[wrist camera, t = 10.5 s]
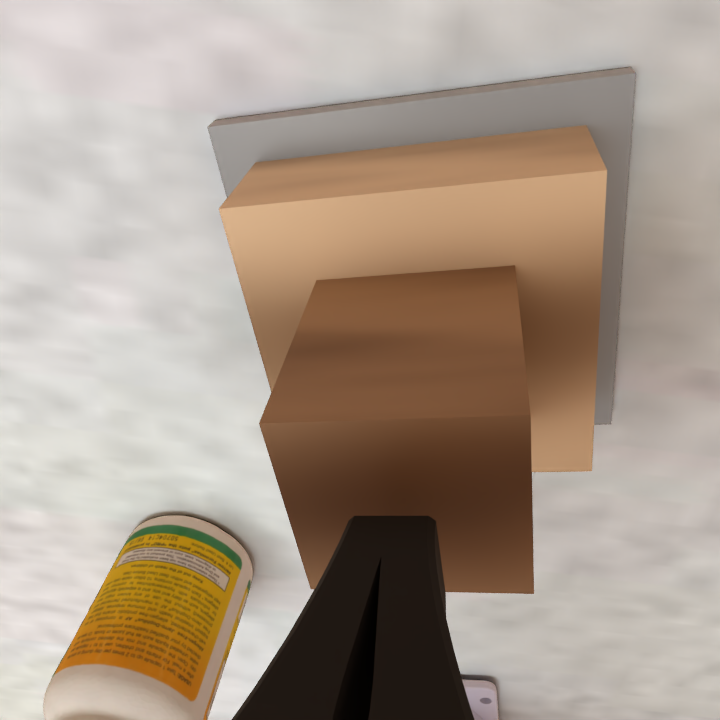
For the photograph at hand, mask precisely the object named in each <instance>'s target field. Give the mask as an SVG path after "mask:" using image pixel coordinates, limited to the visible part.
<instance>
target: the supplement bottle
mask: <svg viewBox="0 0 720 720" xmlns="http://www.w3.org/2000/svg"><path fill="white" fill-rule="evenodd" d="M252 577H253V569H252V564H251V561H250V558H249V556H248V554H247V552H246V551H245V549H244V548H243V547H242V546H241V545H240V543H239V542H238V541H237V540H235V539H234V538H233V537H232V536H230V535H229V534H227V533H226V532H224V531H223V530H221V529H220V528H218V527H217V526H215V525H213V524H211V523H209V522H206V521H203V520H200V519H197V518H194V517H189V516H181V515H170V516H161V517H156V518H153V519H150V520H148V521H145V522H144V523H142V524H140V525H139V526H138V527H137V528H136V529H135V530H134V531H133V532H132V533H131V535H130V536H129V538H128V539H127V541H126V543H125V545H124V546H123V548H122V550H121V551H120V553H119V555H118V557H117V559H116V561H115V563H114V564H113V566H112V568H111V570H110V572H109V574H108V575H107V577H106V579H105V581H104V583H103V585H102V587H101V589H100V590H99V592H98V594H97V596H96V598H95V600H94V602H93V603H92V605H91V606H90V609H89V611H88V613H87V615H86V617H85V619H84V620H83V622H82V624H81V626H80V628H79V629H78V631H77V633H76V635H75V637H74V639H73V641H72V643H71V644H70V646H69V648H68V650H67V651H66V653H65V655H64V657H63V658H62V660H61V662H60V664H59V666H58V668H57V669H56V671H55V673H54V674H53V676H52V679H51V681H50V683H49V685H48V688H47V690H46V693H45V696H44V703H43V710H44V717H45V720H207V719H208V716H209V713H210V710H211V707H212V704H213V701H214V698H215V695H216V692H217V689H218V686H219V682H220V679H221V677H222V673H223V670H224V667H225V664H226V661H227V658H228V655H229V652H230V649H231V645H232V642H233V639H234V636H235V633H236V631H237V628H238V625H239V622H240V619H241V616H242V613H243V609H244V606H245V603H246V600H247V597H248V593H249V590H250V586H251V583H252Z"/></svg>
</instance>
